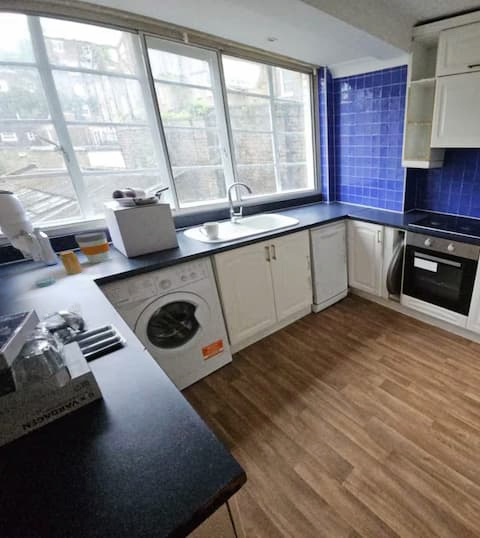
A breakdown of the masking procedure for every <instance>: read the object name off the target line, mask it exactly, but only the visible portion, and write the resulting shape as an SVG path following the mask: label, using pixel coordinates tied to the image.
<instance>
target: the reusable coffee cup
mask: <svg viewBox="0 0 480 538" xmlns="http://www.w3.org/2000/svg"><path fill="white" fill-rule="evenodd" d="M74 239H75V241H76V242H75V243H77V244H78V247H79V249H80V251H81V252H82V254H83V255H84V256H85V258H86V259H87V261H88V262H89V264H99V263H104V262H107V261H109V260H111V253H110V244H109V241H108V239H107V235H106V232H105V231H103V230H93V231H86V232H82V233H78V234H76V235H74Z"/></svg>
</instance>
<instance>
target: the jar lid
mask: <svg viewBox="0 0 480 538" xmlns="http://www.w3.org/2000/svg"><path fill="white" fill-rule="evenodd" d="M55 283H56V279H55V278H54V277H46V278H41V279H38V280H36V281H35V282H34V286H35V287H36V288H44V287H48V286H52V285H54V284H55Z"/></svg>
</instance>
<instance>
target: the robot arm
mask: <svg viewBox="0 0 480 538" xmlns="http://www.w3.org/2000/svg"><path fill="white" fill-rule="evenodd" d="M20 200H21V199H19V197H18V196H17V195H16V194H15V193H14V192H12V191H9V190H3V189H0V231H1V233H2V234H3V236H4V237H6V238H7V239H8V241H9V243H10V244H11V245H12V247H13V248H14V249H17V250H19V251H20V252H21V254H22V255H23V256H24V258H25V259H32V260H33V262H34V263H35V262H36V263H38V262H42V261H41V257H40V254H39V252H42V248H41V246H40V244H39V243H38V241H37V239H36V237H35V236H34V235H32V234H33V233H31V232H34V228H35V227H34V226H33V225H32V222H31V220H30V219H29V217H27V214H26V210H25V208H24V205H23V204H22V202H21V201H20Z"/></svg>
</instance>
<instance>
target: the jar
mask: <svg viewBox="0 0 480 538" xmlns="http://www.w3.org/2000/svg"><path fill="white" fill-rule="evenodd" d="M74 252H75V251H73V250H67V251H63V252H60V253H59V260H60V261H61V263H62V265H63V268H64V269H65V271H66V274H67V275H69V274H70V275H69V276H72V275H76V274H75V273H77V274H80V273H82V272H83V271H84V270H83V267H82V265H81V263H80V261H79V258H78V256H77V254H76V253H74ZM81 271H82V272H81ZM79 272H80V273H79Z"/></svg>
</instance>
